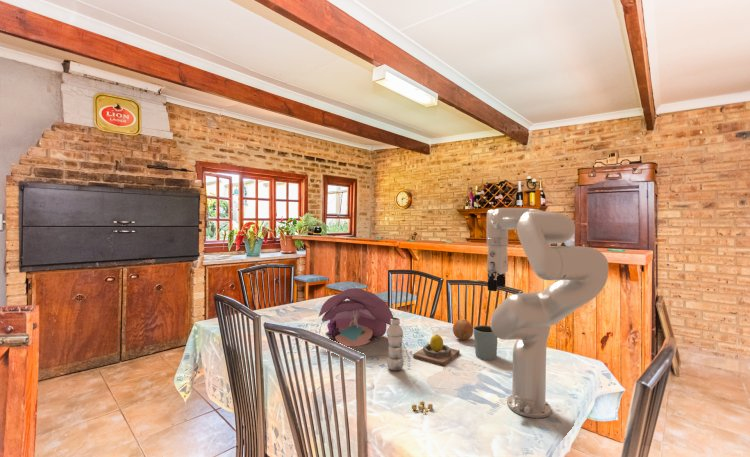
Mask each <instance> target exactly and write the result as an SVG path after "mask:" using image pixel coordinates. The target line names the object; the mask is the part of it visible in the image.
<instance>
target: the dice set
mask: <svg viewBox="0 0 750 457" xmlns="http://www.w3.org/2000/svg"><path fill="white" fill-rule="evenodd" d="M425 405H426V404H425V401H423V400H421V401H419V404H418V405H417V404H415V403H413V404H412V405H411V410H412V409H413V410H416V409H419V410H418V411H420V410H422V413H427V414H428V412H429V411H432V410H433V408H434V404H432V403H428V404H427V408H425ZM428 409H430V410H428ZM431 409H432V410H431ZM413 410H412V411H413ZM424 410H425V411H424ZM416 411H417V410H416ZM426 411H427V412H426Z"/></svg>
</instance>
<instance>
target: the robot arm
mask: <svg viewBox="0 0 750 457" xmlns="http://www.w3.org/2000/svg"><path fill="white" fill-rule="evenodd" d="M510 230H516V234H517V237H518V240H519V242H520V245H521V246H522V249H523V252H524V254H525V256H526V258H527V261H528V262H529V265H530V267H531V270H532V271H533V273H535V275H536V276H537V277H538V278H540V279H541V280H545V281H555V282H552V284H550V285H549V286H548V287H547V288H546V289H544V290H543V291H538V292H520V293H513V294H511V295H508V296H507V297H506V298H505V299H503V301H502V302H501V303H500V304H499V305H498V306H497V307H496V308H495V309H494V311H493V312H492V314H491V317H490V325H489V326H491V330H492V332H493V333H494V335H495V336H496V337H498V338H497V339H500V340H506V341H511V340H516V341H515V343H514V345H513V349H512V392H511V393H512V394H511V395H509V396H507V399H506V404H507V406H508V407H509V409H510V410H511V411H512V412H514V413H516V414H518V415H521V416H523V417H527V418H532V419H533V418H534V419H542V418H545V417H548V416H550V415H551V414H552V410H551V409H552V406H551V405H550V404H549V403H548V402H547V401H546V389H547V388H546V386H547V385H546V384H547V383H546V381H547V378H546V376H547V346H548V339H549V335H550V331H551V326H554V325H556V324H558V323H559V322H560V321H562V320H564V319H565V318H567V317H568V316H570V315H571V314H572V313H573V312H575V311H576V310H578V309H580V308H581V307H583V306H585V305H586V304H588V303H590V302H591V301H592V300H594V299H595V298H596V297H597V296H598V295H599V294H601V292H602V290H603V289H604V288H605V286H606V283H607V281H608V279H609V278H608V277H609V269H610V267H609V261H608V259H607V257H606V256H605V254H604V253H602V251H600V250H598V249H595V248H593V247H590V246H582V245H581V246H579V245H575V246H574V245H569V246H568V245H567V246H566V245H565V246H563V245H561V246H559V245H558V246H557V245H556V244H562V243H566V242H568V241H570V240H571V238H572V237H573V236H574V235H575V233H576V226H575V223H574V220H573V219H572V218H571V217H569V216H568V215H566V214H564V213H559V212H554V211H545V210H541V209H535V208H530V207H529V208H528V207H499V208H495V209H494V208H493V209H492V208H491V209H489V210H487V212H486V247H488V248H487V257H486V258H487V260H486V262H487V264H486V267H487V268H486V269H487V291H488V292H489V291H491V292H497V291H498V287H500V288H505V287H506V273H507V272H508V270H509V262H508V261H509V260H508V247H509V231H510ZM549 244H551V245H553V244H554V245H556V246H551V245H549Z"/></svg>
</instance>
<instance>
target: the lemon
mask: <svg viewBox="0 0 750 457" xmlns="http://www.w3.org/2000/svg"><path fill="white" fill-rule="evenodd" d="M429 341H430V342H429V344H430V346H431V348H432V350H433V351H435V352H439V351H441V350H442V348H443V345H444V340H443V338H442V336H440V335H439V334H437V333H436V334H434V335H432V337H431V338H430V340H429Z"/></svg>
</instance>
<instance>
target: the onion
mask: <svg viewBox="0 0 750 457" xmlns="http://www.w3.org/2000/svg"><path fill="white" fill-rule="evenodd" d="M473 328H474V327H473V325H472V323H471V322H470V321H469V320H467V319H465V318H462V319H460V318H459V319H458V320H456V321H455V322H454V323H453V326H452V332H453V334H454V336H455V337H456V338H457V339H458V340H460V341H466V340H469V339H471V338H472V337H473V336H474V331H473Z"/></svg>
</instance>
